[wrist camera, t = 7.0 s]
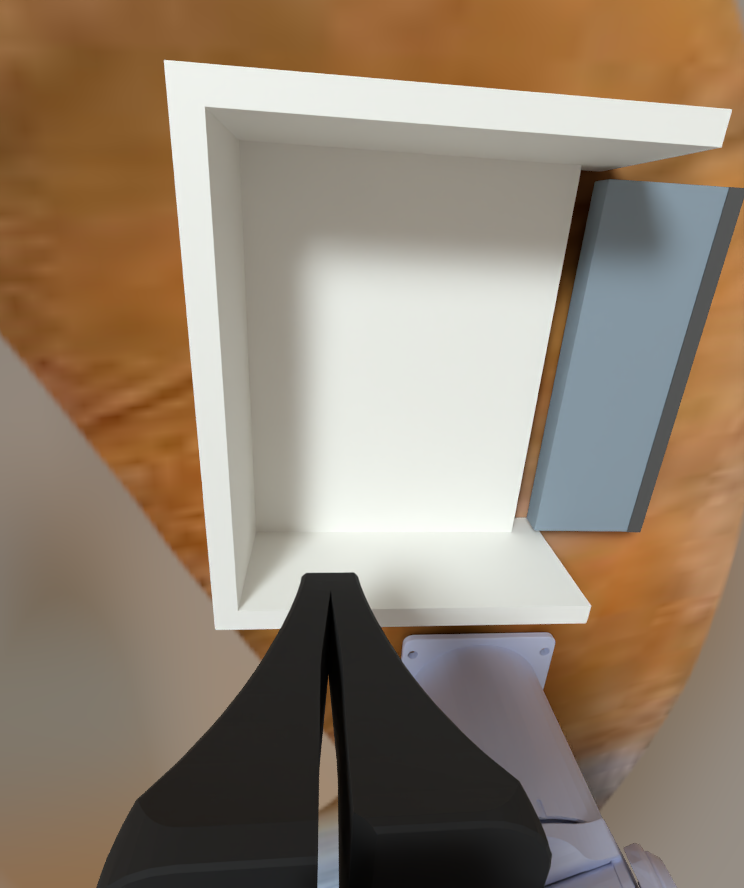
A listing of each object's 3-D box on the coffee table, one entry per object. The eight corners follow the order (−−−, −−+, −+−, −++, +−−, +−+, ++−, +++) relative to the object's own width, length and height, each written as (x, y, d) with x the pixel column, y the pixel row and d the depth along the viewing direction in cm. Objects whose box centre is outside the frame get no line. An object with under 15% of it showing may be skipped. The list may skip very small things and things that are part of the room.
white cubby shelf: (526, 532, 24) (586, 623, 18) (242, 532, 23) (215, 629, 17) (606, 145, 18) (732, 109, 12) (218, 115, 16) (163, 59, 11)
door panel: (526, 517, 23) (627, 518, 23) (534, 531, 22) (640, 532, 22) (594, 182, 17) (723, 190, 18) (610, 179, 16) (746, 188, 17)
